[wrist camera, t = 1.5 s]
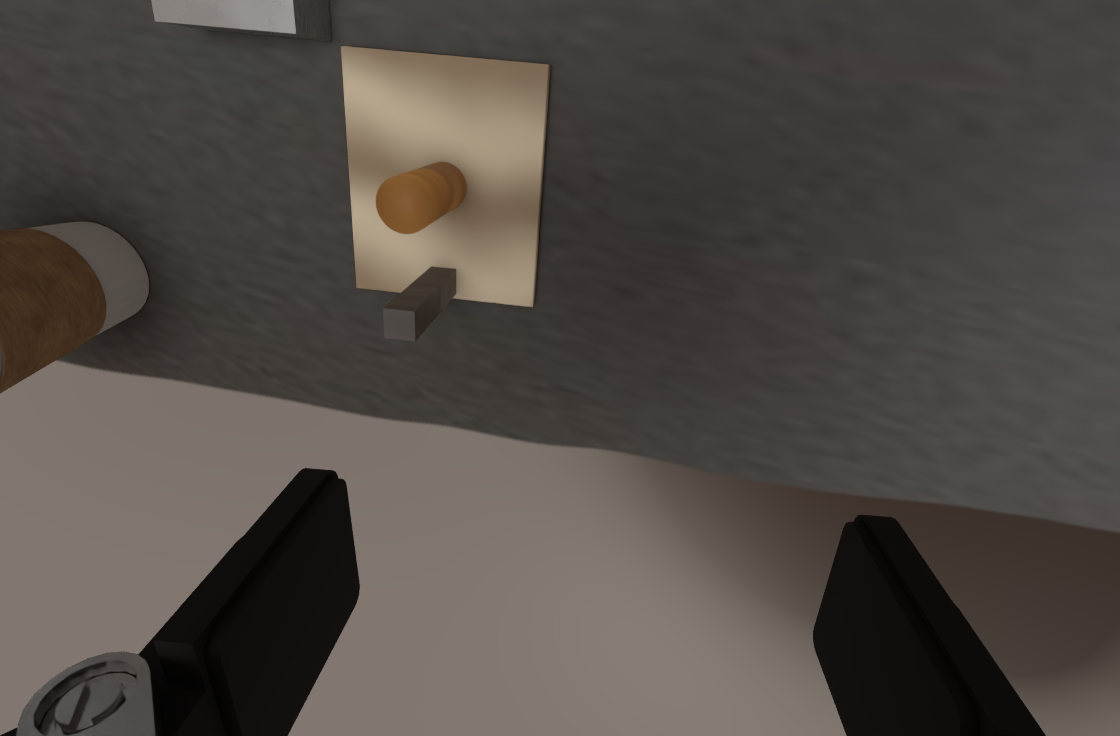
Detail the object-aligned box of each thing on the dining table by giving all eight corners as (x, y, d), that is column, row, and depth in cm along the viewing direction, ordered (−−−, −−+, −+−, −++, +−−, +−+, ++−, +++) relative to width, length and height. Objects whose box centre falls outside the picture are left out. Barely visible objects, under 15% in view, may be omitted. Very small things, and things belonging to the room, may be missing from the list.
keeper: (348, 47, 29) (256, 28, 21) (550, 65, 28) (526, 52, 21) (362, 283, 34) (291, 333, 26) (534, 302, 33) (510, 358, 26)
